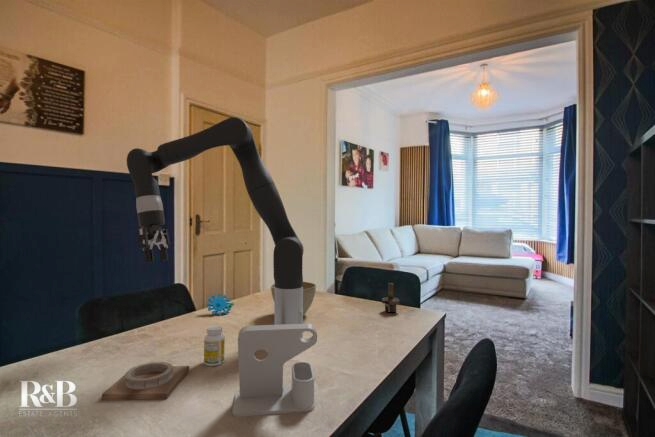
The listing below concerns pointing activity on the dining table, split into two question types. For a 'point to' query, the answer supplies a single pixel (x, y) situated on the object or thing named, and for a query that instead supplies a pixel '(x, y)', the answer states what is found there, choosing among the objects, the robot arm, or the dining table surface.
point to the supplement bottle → (214, 346)
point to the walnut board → (146, 393)
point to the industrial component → (390, 300)
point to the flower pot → (307, 294)
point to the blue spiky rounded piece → (219, 304)
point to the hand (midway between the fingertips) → (157, 261)
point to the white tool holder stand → (273, 370)
